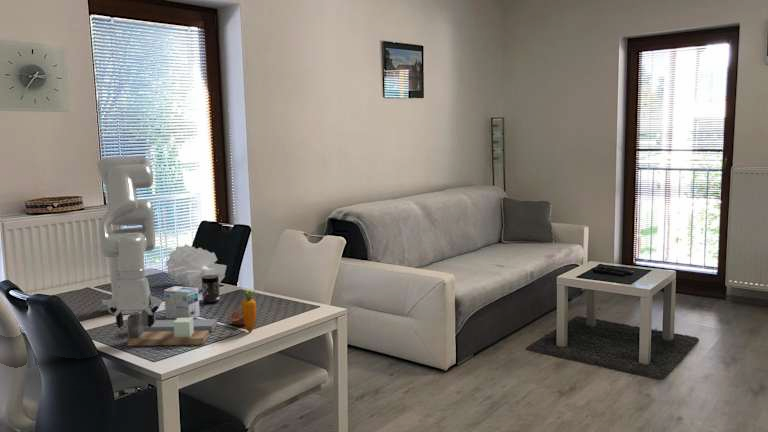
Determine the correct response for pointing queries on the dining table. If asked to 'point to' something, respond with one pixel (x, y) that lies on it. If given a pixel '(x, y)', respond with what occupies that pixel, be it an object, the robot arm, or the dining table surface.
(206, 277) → the supplement container
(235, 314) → the fruit slice
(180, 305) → the light bulb box
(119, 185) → the robot arm
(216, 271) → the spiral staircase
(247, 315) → the carrot
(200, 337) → the wooden board with post
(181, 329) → the sage block
